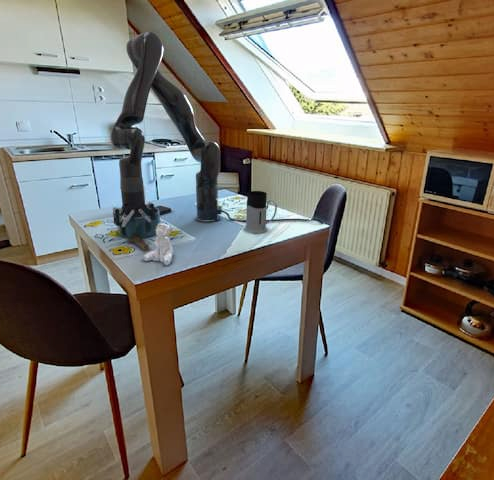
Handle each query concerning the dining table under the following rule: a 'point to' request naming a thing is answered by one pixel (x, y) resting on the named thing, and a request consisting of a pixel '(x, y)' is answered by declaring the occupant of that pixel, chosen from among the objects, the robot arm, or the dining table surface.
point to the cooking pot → (140, 225)
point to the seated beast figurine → (161, 245)
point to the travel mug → (257, 212)
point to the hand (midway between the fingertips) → (136, 233)
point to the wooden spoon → (138, 242)
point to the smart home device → (163, 209)
